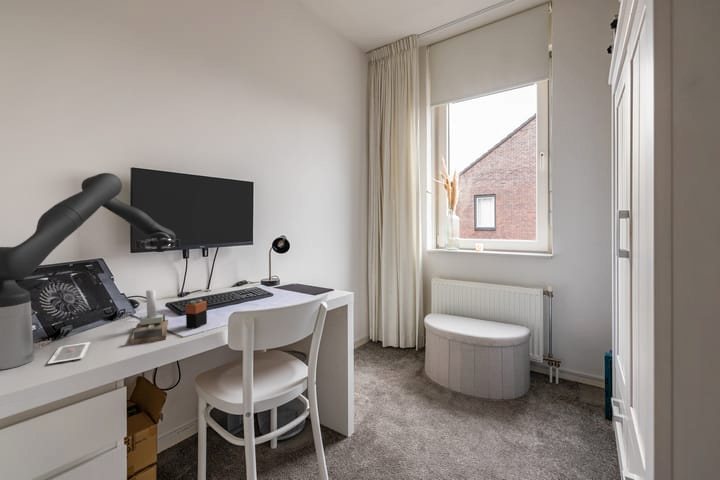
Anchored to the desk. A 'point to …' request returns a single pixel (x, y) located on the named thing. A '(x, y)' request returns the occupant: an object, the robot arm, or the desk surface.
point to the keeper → (151, 310)
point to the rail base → (141, 327)
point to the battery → (196, 314)
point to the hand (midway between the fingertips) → (157, 244)
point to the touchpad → (69, 352)
